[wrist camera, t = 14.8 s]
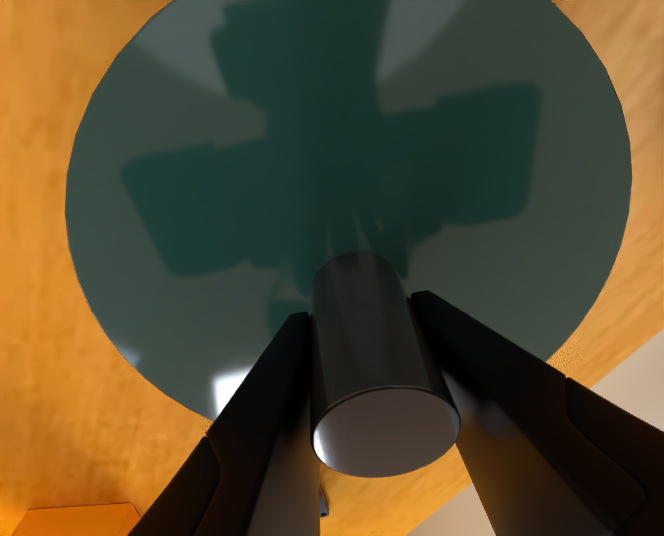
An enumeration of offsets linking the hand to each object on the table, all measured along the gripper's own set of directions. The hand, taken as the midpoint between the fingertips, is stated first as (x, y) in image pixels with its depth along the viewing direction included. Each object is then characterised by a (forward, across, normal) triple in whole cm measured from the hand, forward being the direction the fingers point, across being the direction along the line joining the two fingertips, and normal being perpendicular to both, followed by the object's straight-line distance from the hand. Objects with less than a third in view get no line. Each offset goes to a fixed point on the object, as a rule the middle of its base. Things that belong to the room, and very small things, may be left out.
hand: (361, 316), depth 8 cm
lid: (+1, 0, 0) cm, 1 cm away
